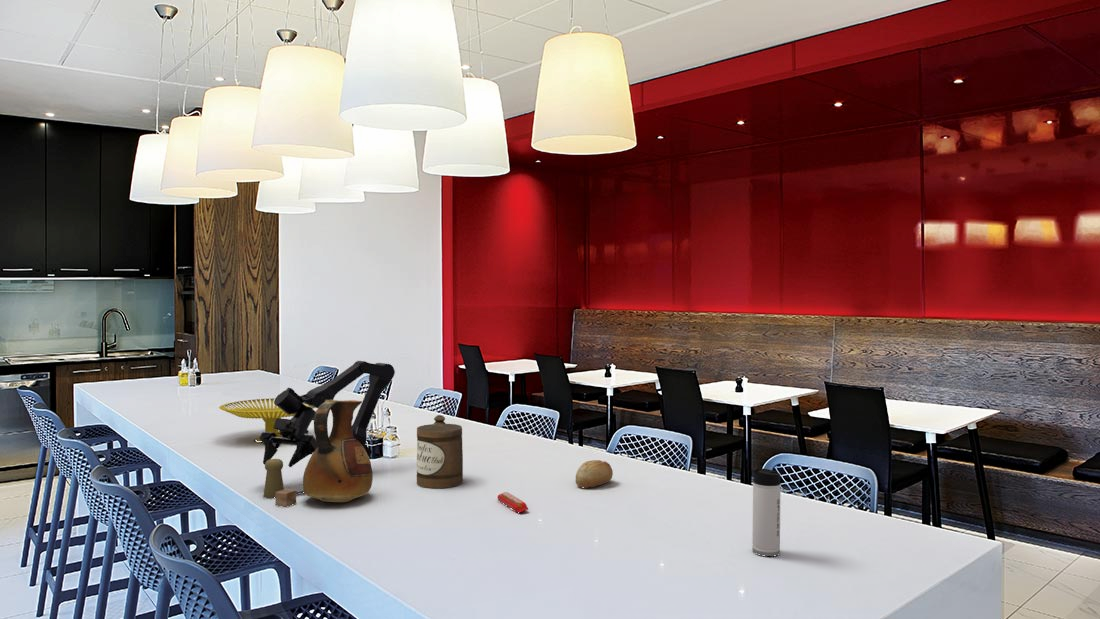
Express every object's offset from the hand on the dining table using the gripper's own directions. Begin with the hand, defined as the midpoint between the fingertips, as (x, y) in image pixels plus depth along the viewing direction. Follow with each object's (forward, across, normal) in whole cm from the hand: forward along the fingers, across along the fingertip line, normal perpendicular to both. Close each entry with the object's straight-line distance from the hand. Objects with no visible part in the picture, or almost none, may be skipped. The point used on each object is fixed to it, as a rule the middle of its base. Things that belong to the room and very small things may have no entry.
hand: (276, 465), depth 222 cm
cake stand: (-43, -58, +55) cm, 91 cm away
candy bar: (-2, +72, +14) cm, 74 cm away
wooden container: (-14, +40, +27) cm, 50 cm away
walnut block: (+12, +10, +1) cm, 16 cm away
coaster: (+2, +4, +11) cm, 11 cm away
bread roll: (-24, +89, +36) cm, 99 cm away
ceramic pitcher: (+5, +21, +7) cm, 23 cm away
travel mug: (+10, +143, +3) cm, 143 cm away
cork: (+7, 0, +6) cm, 9 cm away
